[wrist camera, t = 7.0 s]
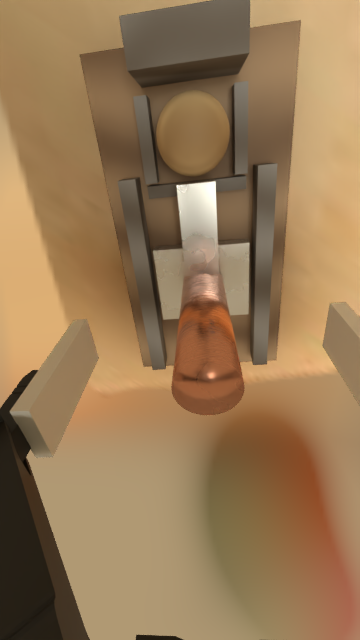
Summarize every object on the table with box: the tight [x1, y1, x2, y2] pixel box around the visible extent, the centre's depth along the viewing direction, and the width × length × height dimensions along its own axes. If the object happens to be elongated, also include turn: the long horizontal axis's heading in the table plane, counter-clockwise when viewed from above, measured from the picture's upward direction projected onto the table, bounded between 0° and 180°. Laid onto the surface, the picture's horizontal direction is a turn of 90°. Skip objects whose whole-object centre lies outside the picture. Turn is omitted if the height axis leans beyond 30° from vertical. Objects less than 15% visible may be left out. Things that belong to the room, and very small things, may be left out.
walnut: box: [156, 90, 230, 177], centre depth 18 cm, size 4×4×4 cm
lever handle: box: [153, 179, 249, 415], centre depth 18 cm, size 10×7×13 cm
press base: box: [80, 0, 301, 370], centre depth 22 cm, size 24×13×6 cm, turn 6°
